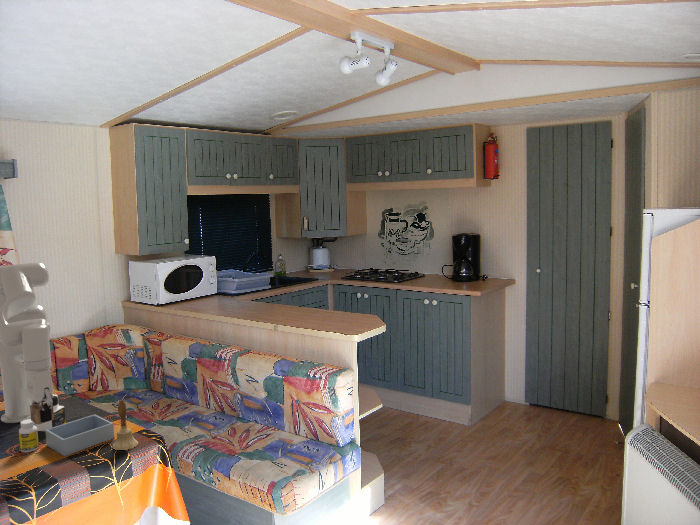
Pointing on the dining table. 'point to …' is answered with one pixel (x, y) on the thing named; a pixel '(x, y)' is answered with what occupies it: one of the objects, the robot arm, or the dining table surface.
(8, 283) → the robot arm
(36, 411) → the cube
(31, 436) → the supplement bottle
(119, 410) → the hand bell
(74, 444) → the tote
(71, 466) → the dining table surface
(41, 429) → the medicine bottle
